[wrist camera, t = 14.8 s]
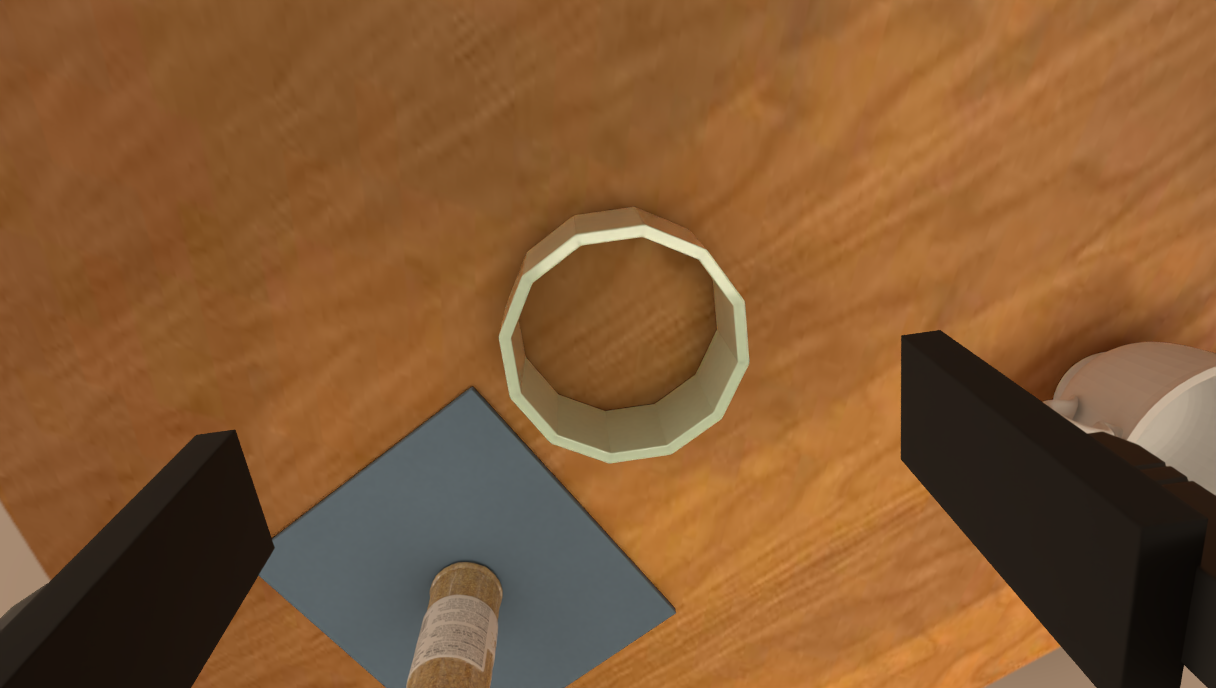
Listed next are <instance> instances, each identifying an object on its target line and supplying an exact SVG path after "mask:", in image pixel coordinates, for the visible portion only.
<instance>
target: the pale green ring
mask: <svg viewBox="0 0 1216 688" xmlns="http://www.w3.org/2000/svg"><path fill="white" fill-rule="evenodd" d="M639 237H644V238H646V239H648V240H651V241H653V242H656V243H658V244H661V245H663V246H666V247H668V248H671V249H673V250H676V251H678V252H681V253H683V254H686V255H688V256H691V257H693V258H696V259H698V261H699V262H700V263H701V265H702V266H703V267H704V269H705V270H706V271H707V273H708V274H709V276H710V277H711V278H712V280H713V290H714V302H715V313H716V324H717V330H716V332H715V335H714V337H713V339H712V341H711V343H710V345H709V347H708V349H707V351H706V354H705V356H704V358H703V360H702V362H701V364H700V366H699V368H698V370H697V372H696V374H695V375H694V376H693V377H691V378H690V379H688V380H687V381H686V382H684V383H683V384H681V385H680V386H679V387H677V388H676V389H675V390H673V391H672V392H670V393H669V394H668V395H666V396H665V397H663V398H662V399H661V400H659V401H658V402H657V403H655V404H650V405H643V406H636V407H629V408H623V409H616V410H609V411H604V410H601V409H598V408H595V407H592V406H590V405H587V404H584V403H581V402H578V401H576V400H573V399H570V398H567V397H564V396H561V395H559V394H557V392H556V391H555V390H554V389H553V388H552V387H551V385H550V384H549V383H548V382H547V381H546V380H545V379H544V377H543V376H542V375H541V374H540V373H539V372H538V371H537V369H536V368H535V367H534V366H533V365H532V364H531V362H530V361H529V360H528V359H527V358H526V356H525V350H524V345H523V339H522V333H521V328H520V322H519V316H520V314H521V311H522V309H523V306H524V304H525V301H526V299H527V296H528V294H529V291H530V288H531V286H532V283H534V282H535V281H536V280H537V279H539V278H540V277H541V276H543V275H544V274H545V273H547V272H548V271H549V270H550V269H552V268H553V267H554V266H556V265H557V264H558V263H559V262H561V261H562V260H563V259H565V258H566V257H567V256H568V255H570V254H571V253H572V252H574V251H575V250H576V249H577V248H579V247H580V246H583V245H590V244H597V243H604V242H611V241H618V240H625V239H632V238H639ZM499 343H500V348H501V353H502V359H503V364H504V369H505V375H506V380H507V385H508V390H509V396H510V398H511V399H512V401H513V402H514V403H515V404H516V405H517V406H518V407H519V408H520V409H521V411H522V412H523V413H524V414H525V415H526V416H527V417H528V418H529V420H530V421H531V422H532V423H533V424H534V425H535V426H536V427H537V428H538V430H539V431H540V432H541V433H542V434H543V435H544V436H545V437H546V438H547V440H548V441H549V442H550V443H552V444H554V445H557V446H560V447H563V448H566V449H569V450H572V451H575V452H577V453H580V454H583V455H586V456H589V457H592V458H595V459H598V460H601V461H604V462H607V463H616V462H623V461H630V460H637V459H644V458H651V457H658V456H664V455H670V454H673V453H674V452H676V451H677V450H678V449H680V448H681V447H683V446H684V445H685V444H687V443H688V442H690V441H691V440H693V439H694V438H695V437H697V436H698V435H700V434H701V433H702V432H704V431H705V430H707V429H708V428H710V427H711V426H712V425H714V424H715V423H717V422H718V421H719V420H721V419H722V418H723V416H724V414H725V412H726V409H727V407H728V405H729V403H730V401H731V399H732V397H733V395H734V393H735V391H736V389H737V387H738V385H739V383H740V381H741V379H742V377H743V375H744V373H745V371H746V369H747V367H748V365H749V349H748V336H747V322H746V309H745V301H744V299H743V298H742V296H741V295H740V294H739V292H738V291H737V290H736V288H735V287H734V286H733V284H732V283H731V282H730V280H729V279H728V277H727V276H726V275H725V273H724V272H723V271H722V269H721V268H720V267H719V265H718V264H717V262H716V261H715V260H714V258H713V257H712V256H711V254H710V253H709V252H708V250H707V249H706V248H705V247H704V246H703V245H702V243H701V242H700V241H699V240H698V239H697V238H696V237H695V236H694V234H693V233H692V232H691V231H690V230H689V229H687V228H685V227H682V226H680V225H677V224H675V223H673V222H670V221H668V220H665V219H663V218H660V217H658V216H656V215H653V214H651V213H648V212H646V211H643V210H641V209H638V208H636V207H629V208H622V209H615V210H608V211H600V212H593V213H586V214H579V215H574V216H572V217H571V218H570V219H568V220H567V221H566V222H565V223H563V224H562V225H561V226H559V227H558V228H557V229H556V230H554V231H553V232H552V233H551V234H549V235H548V236H547V237H545V238H544V239H543V240H542V241H540V242H539V243H538V244H537V245H535V246H534V247H533V248H531V249H530V250H529V251H528V252H527V253H526V255H525V258H524V260H523V263H522V265H521V268H520V270H519V273H518V276H517V278H516V281H515V283H514V286H513V289H512V291H511V294H510V296H509V299H508V302H507V304H506V308H505V312H504V316H503V320H502V324H501V328H500V332H499Z"/></svg>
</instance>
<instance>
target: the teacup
mask: <svg viewBox="0 0 1216 688" xmlns="http://www.w3.org/2000/svg"><path fill="white" fill-rule="evenodd" d="M1043 403H1045V404H1046V405H1047V406H1049V407H1050V408H1052V409H1053V410H1054V411H1056V412H1057V413H1059V414H1060V415H1062V416H1063V417H1064V418H1066V419H1067V420H1069V421H1070V422H1072V423H1073V424H1074V425H1076V426H1077V427H1079V428H1080V429H1082V430H1083V431H1084V432H1086V433H1095V432H1102V431H1103V432H1106V433H1108V434H1111V435H1114V436H1116V437H1119V438H1122V439H1125V440H1127V441H1130V442H1133V443H1135V444H1138V445H1140V446H1141V447H1143V448H1144V449H1146V450H1147V451H1149V452H1150V453H1152V454H1153V455H1155V456H1156V457H1158V458H1159V459H1161V460H1162V461H1164V462H1165V464H1166V466H1172V467H1173V468H1175V469H1176V470H1178V471H1179V472H1181V473H1182V474H1184V475H1185V476H1187V479H1188V481H1194V482H1196V483H1197V484H1199V485H1200V486H1202V487H1203V488H1205V489H1206V490H1208V491H1209V492H1211V493H1213V494H1214V495H1216V353H1212V352H1209V351H1205V350H1201V349H1197V348H1193V347H1189V346H1184V345H1179V344H1173V343H1166V342H1140V343H1133V344H1128V345H1124V346H1120V347H1117V348H1115V349H1112V350H1109V351H1107V352H1101V353H1097V354H1094V355H1091V356H1088V357H1086V358H1084V359H1082V360H1080V361H1079V362H1077V363H1076V364H1075V365H1073V366H1072V367H1071V368H1070V369H1069V370H1068V371H1067V372H1066V373H1065V375H1064V376H1063V377H1062V379H1061V380H1060V382H1059V384H1058V386H1057V388H1056V391H1055V393H1054V398H1053V400H1046V401H1043Z"/></svg>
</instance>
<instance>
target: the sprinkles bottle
mask: <svg viewBox="0 0 1216 688" xmlns="http://www.w3.org/2000/svg"><path fill="white" fill-rule="evenodd" d="M502 595H503V590H502V587H501V583H500V581H499V580H498V578H497V577H496V575H495V574H494V573H493V572H492V571H490V570H489V569H488V568H487V567H485V566H482V565H479V564H476V563H470V562H458V563H455V564H452V565H450V566H448V567H446V568H444V569H443V570H442V571H440V572H439V573H438V574H437V575H436V577H435V578H434V580H433V582H432V585H431V588H430V601H429V605H428V608H427V612H426V614H425V616H424V618H423V622H422V626H421V630H420V633H419V637H418V641H417V645H416V649H415V653H414V658H413V661H412V665H411V669H410V673H409V676H408V680H407V685H406V688H490V684H491V680H492V670H493V666H494V660H495V651H496V643H497V634H498V615H499V608H500V605H501V602H502Z"/></svg>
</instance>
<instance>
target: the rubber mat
mask: <svg viewBox="0 0 1216 688" xmlns="http://www.w3.org/2000/svg"><path fill="white" fill-rule="evenodd" d="M272 541H273V544H274V547H275V549H274V550H273V552H272V554H271V555H270V557H269V559H268V560H267V562H266V564H265V565H264V567H263V569H262V570H261V572H260V574H259V576H260V577H261V578H262V579H263V580H264V581H266V582H267V583H268V584H269V585H270V586H271V587H272V588H274V589H275V590H276V591H277V592H278V593H279V594H280V595H282V596H283V597H284V598H285V599H286V600H287V601H288V602H289V603H291V604H292V605H293V606H294V607H295V608H296V609H297V610H299V611H300V612H301V613H302V614H303V615H304V616H305V617H307V618H308V619H309V620H310V621H311V622H312V623H313V624H314V625H316V626H317V627H318V628H319V629H320V630H321V631H322V632H324V633H325V634H326V635H327V636H328V637H329V638H330V639H332V640H333V641H334V642H335V643H336V644H337V645H338V646H339V647H341V648H342V649H343V650H344V651H345V652H346V653H347V654H349V655H350V656H351V657H352V658H353V659H354V660H355V661H357V662H358V663H359V664H360V665H361V666H362V667H363V668H364V669H366V670H367V671H368V672H369V673H370V674H371V675H372V676H374V677H375V678H376V679H377V680H378V681H379V682H380V683H382V684H383V685H384V686H385V687H386V688H406V685H407V680H408V676H409V673H410V669H411V665H412V661H413V658H414V653H415V649H416V645H417V641H418V637H419V633H420V630H421V626H422V622H423V618H424V616H425V614H426V612H427V608H428V605H429V601H430V588H431V585H432V582H433V580H434V578H435V577H436V575H437V574H438V573H439V572H440V571H442V570H443V569H444V568H446V567H448V566H450V565H452V564H455V563H458V562H470V563H476V564H479V565H482V566H485V567H487V568H488V569H489V570H490V571H492V572H493V573H494V574H495V575H496V577H497V578H498V580H499V581H500V583H501V587H502V590H503V595H502V602H501V605H500V608H499V615H498V634H497V643H496V651H495V660H494V666H493V670H492V680H491V684H490V688H565V687H566V686H568V685H569V684H571V683H572V682H574V681H575V680H577V679H578V678H580V677H581V676H583V675H584V674H586V673H587V672H589V671H590V670H592V669H593V668H595V667H596V666H598V665H599V664H601V663H602V662H604V661H605V660H607V659H608V658H610V657H611V656H613V655H614V654H616V653H617V652H619V651H620V650H622V649H623V648H625V647H626V646H628V645H629V644H631V643H632V642H634V641H635V640H637V639H638V638H640V637H641V636H643V635H644V634H645V633H647V632H648V631H650V630H651V629H653V628H654V627H656V626H657V625H659V624H660V623H662V622H663V621H665V620H666V619H668V618H669V617H671V616H672V615H674V614H675V613H676V611H675V608H674V607H673V606H672V605H671V604H670V602H669V601H668V600H667V599H666V598H665V597H664V596H663V595H662V594H661V593H660V591H659V590H658V589H657V588H656V587H655V586H654V585H653V584H652V583H651V582H650V580H649V579H648V578H647V577H646V576H645V575H644V574H643V573H642V572H641V571H640V569H639V568H638V567H637V566H636V565H635V564H634V563H633V562H632V561H631V560H630V558H629V557H628V556H627V555H626V554H625V553H624V552H623V551H622V550H621V549H620V548H619V546H618V545H617V544H616V543H615V542H614V541H613V540H612V539H611V538H610V537H609V535H608V534H607V533H606V532H605V531H604V530H603V529H602V528H601V527H600V526H599V524H598V523H597V522H596V521H595V520H594V519H593V518H592V517H591V516H590V515H589V513H588V512H587V511H586V510H585V509H584V508H583V507H582V506H581V505H580V504H579V502H578V501H577V500H576V499H575V498H574V497H573V496H572V495H571V494H570V493H569V492H568V490H567V489H566V488H565V487H564V486H563V485H562V484H561V483H560V482H559V481H558V479H557V478H556V477H555V476H554V475H553V474H552V473H551V472H550V471H549V470H548V468H547V467H546V466H545V465H544V464H543V463H542V462H541V461H540V460H539V459H538V457H537V456H536V455H535V454H534V453H533V452H532V451H531V450H530V449H529V448H528V447H527V445H526V444H525V443H524V442H523V441H522V440H521V439H520V438H519V437H518V436H517V434H516V433H515V432H514V431H513V430H512V429H511V428H510V427H509V426H508V425H507V423H506V422H505V421H504V420H503V419H502V418H501V417H500V416H499V415H498V414H497V412H496V411H495V410H494V409H493V408H492V407H491V406H490V405H489V404H488V403H487V401H486V400H485V399H484V398H483V397H482V396H481V395H480V394H479V393H478V392H477V391H476V389H475V388H474V387H473V386H472V387H471V388H469V389H468V390H467V391H465V392H464V393H463V394H461V395H460V396H459V397H457V398H456V399H455V400H453V401H452V402H451V403H450V404H448V405H447V406H446V407H444V408H443V409H442V410H440V411H439V412H438V413H436V414H435V415H434V416H432V417H431V418H430V419H429V420H427V421H426V422H425V423H423V424H422V425H421V426H419V427H418V428H417V429H415V430H414V431H413V432H411V433H410V434H409V435H408V436H406V437H405V438H404V439H402V440H401V441H400V442H398V443H397V444H396V445H394V446H393V447H392V448H390V449H389V450H388V451H387V452H385V453H384V454H383V455H381V456H380V457H379V458H377V459H376V460H375V461H373V462H372V463H371V464H369V465H368V466H367V467H366V468H364V469H363V470H362V471H360V472H359V473H358V474H356V475H355V476H354V477H352V478H351V479H350V480H348V481H347V482H346V483H345V484H343V485H342V486H341V487H339V488H338V489H337V490H335V491H334V492H333V493H331V494H330V495H329V496H327V497H326V498H325V499H324V500H322V501H321V502H320V503H318V504H317V505H316V506H314V507H313V508H312V509H310V510H309V511H308V512H306V513H305V514H304V515H303V516H301V517H300V518H299V519H297V520H296V521H295V522H293V523H292V524H291V525H289V526H288V527H287V528H285V529H284V530H283V531H282V532H280V533H279V534H278V535H276V536H275V537H274V538H272Z"/></svg>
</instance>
